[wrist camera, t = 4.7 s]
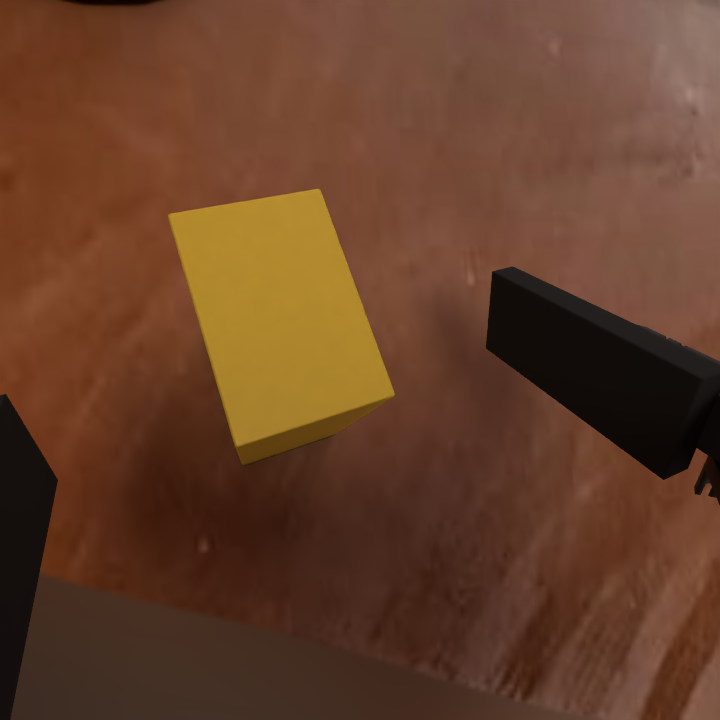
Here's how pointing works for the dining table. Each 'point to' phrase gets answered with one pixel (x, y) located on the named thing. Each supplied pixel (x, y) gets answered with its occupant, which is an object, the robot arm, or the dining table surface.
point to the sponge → (280, 321)
